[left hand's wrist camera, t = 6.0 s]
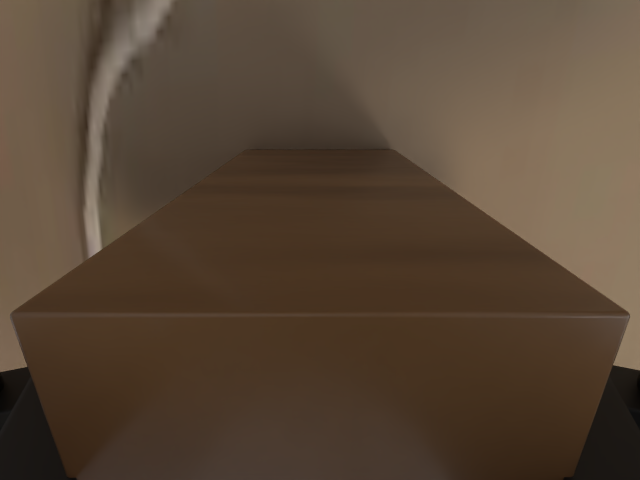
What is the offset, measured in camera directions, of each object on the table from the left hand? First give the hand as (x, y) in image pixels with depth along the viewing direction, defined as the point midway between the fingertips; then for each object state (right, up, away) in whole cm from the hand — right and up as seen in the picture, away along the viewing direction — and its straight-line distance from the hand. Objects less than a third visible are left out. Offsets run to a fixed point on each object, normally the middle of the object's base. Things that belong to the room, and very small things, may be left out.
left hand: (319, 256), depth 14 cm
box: (0, -5, +5) cm, 7 cm away
